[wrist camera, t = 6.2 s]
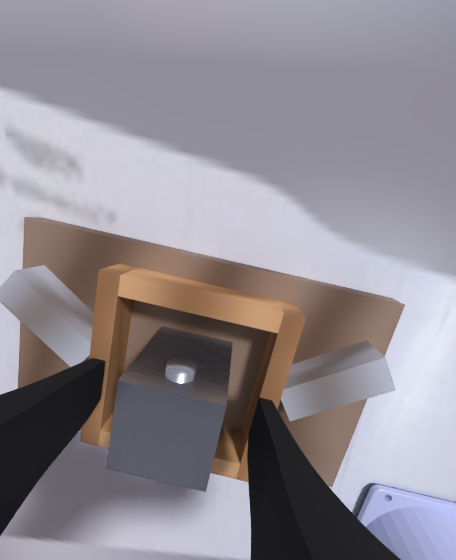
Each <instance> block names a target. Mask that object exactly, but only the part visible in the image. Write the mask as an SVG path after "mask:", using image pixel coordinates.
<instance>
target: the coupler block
mask: <svg viewBox="0 0 456 560" xmlns="http://www.w3.org/2000/svg"><path fill="white" fill-rule="evenodd" d="M232 345H233V342H230V341H226V340H221V339H217V338H213V337H208V336H204V335H199V334H195V333H190V332H186V331H182V330H177V329H173V328H168V327H164V326H161V328H160V329H159V330H158V331H157V333H156V334H155V335H154V336H153V337H152V339H151V340H150V341H149V342H148V344H147V345H146V346H145V347H144V349H143V350H142V351H141V352H140V354H139V355H138V356H137V357H136V358H135V360H134V361H133V362H132V363H131V365H130V366H129V367H128V368H127V370H126V371H125V372H124V373H123V375H122V376H121V377H120V378H119V380H118V382H117V389H116V397H115V405H114V413H113V420H112V428H111V436H110V444H109V451H108V459H107V467H106V469H110V470H115V471H119V472H123V473H128V474H132V475H136V476H140V477H145V478H149V479H153V480H157V481H162V482H166V483H170V484H174V485H179V486H183V487H187V488H191V489H196V490H200V491H204V492H206V488H207V484H208V480H209V475H210V471H211V467H212V463H213V459H214V455H215V451H216V447H217V443H218V439H219V435H220V431H221V427H222V423H223V418H224V414H225V410H226V406H227V397H228V387H229V376H230V366H231V356H232Z"/></svg>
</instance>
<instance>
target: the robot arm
mask: <svg viewBox="0 0 456 560" xmlns="http://www.w3.org/2000/svg"><path fill="white" fill-rule="evenodd" d="M105 362H106V361H104V360H100V359H96V358H91V359H88V360H86V361H84V362H81V363H79V364H77V365H74V366H72V367H70V368H68V369H65V370H63V371H61V372H58V373H56V374H54V375H51V376H49V377H47V378H44V379H42V380H39V381H36V382H34V383H31V384H29V385H26V386H24V387H21V388H18V389H16V390H13V391H10V392H7V393H4V394H1V395H0V536H1V534H2V533H3V531H4V530H5V528H6V527H7V525H8V524H9V522H10V521H11V519H12V518H13V516H14V515H15V513H16V512H17V510H18V509H19V507H20V506H21V504H22V503H23V502H24V500H25V499H26V497H27V496H28V494H29V493H30V492H31V490H32V489H33V487H34V486H35V484H36V483H37V482H38V480H39V479H40V478H41V476H42V475H43V474H44V472H45V471H46V470H47V469H48V467H49V466H50V465H51V464H52V463H53V461H54V460H55V459H56V458H57V457H58V455H59V454H60V453H61V452H62V450H63V449H64V448H65V447H66V446H67V444H68V443H69V442H70V441H71V440H72V438H73V437H74V436H75V435H76V433H77V432H78V431H79V430H80V428H81V427H82V426H83V425H84V424H85V422H86V421H87V420H88V418H89V417H90V415H91V414H92V412H93V411H94V409H95V407H96V406H97V404H98V403H99V401H100V399H101V394H102V386H103V378H104V370H105ZM247 463H248V481H249V497H250V513H251V560H456V503H453V502H449V501H445V500H441V499H437V498H432V497H428V496H424V495H420V494H416V493H412V492H407V491H403V490H399V489H395V488H391V487H387V486H382V485H373V486H372V487H371V488H370V490H369V492H368V494H367V497H366V499H365V501H364V503H363V506H362V508H361V510H360V512H359V515H358V517H357V518H356V517H355V516H354V515H353V514H352V512H351V511H350V510H349V509H348V508H347V507H346V506H345V505H344V504H343V503H342V501H341V500H340V499H339V498H338V497H337V496H336V495H335V494H334V493H333V491H332V490H331V489H330V488H329V487H328V485H327V484H326V483H325V482H324V480H323V479H322V478H321V477H320V475H319V474H318V473H317V471H316V470H315V469H314V468H313V466H312V465H311V463H310V462H309V461H308V459H307V458H306V456H305V455H304V453H303V452H302V450H301V449H300V447H299V446H298V444H297V443H296V441H295V439H294V438H293V436H292V435H291V433H290V431H289V430H288V428H287V426H286V424H285V423H284V421H283V419H282V417H281V415H280V414H279V412H278V410H277V408H276V406H275V404H274V403H273V401H272V400H269V399H264V398H260V397H259V399H258V402H257V406H256V409H255V413H254V416H253V420H252V423H251V427H250V430H249V434H248V452H247Z"/></svg>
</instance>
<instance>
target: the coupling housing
mask: <svg viewBox="0 0 456 560" xmlns="http://www.w3.org/2000/svg"><path fill="white" fill-rule="evenodd" d="M0 302H1V303H2V304H3V305H4V306H5V307H6V308H7V309H8V310H9V311H10V312H12V313H13V314H14V315H15V316H16V317H17V318H18V319H19V320H20V321H21V323H20V349H19V374H18V388H21V387H24V386H26V385H29V384H31V383H34V382H36V381H39V380H42V379H44V378H47V377H49V376H51V375H54V374H56V373H58V372H61V371H63V370H65V369H68V368H70V367H72V366H74V365H77V364H79V363H81V362H84V361H86V360H88V359H91V358H96V359H100V360H104V361H106V362H105V370H104V378H103V386H102V394H101V399H100V401H99V403H98V404H97V406H96V407H95V409H94V411H93V412H92V414H91V415H90V417H89V418H88V420H87V421H86V422H85V424H84V425H83V426H82V430H81V439H80V441H81V442H85V443H89V444H93V445H97V446H101V447H105V448H109V444H110V436H111V428H112V420H113V413H114V405H115V397H116V389H117V382H118V380H119V378H120V377H121V376H122V375H123V373H124V372H125V371H126V370H127V368H128V367H129V366H130V365H131V363H132V362H133V361H134V360H135V358H136V357H137V356H138V355H139V354H140V352H141V351H142V350H143V349H144V347H145V346H146V345H147V344H148V342H149V341H150V340H151V339H152V337H153V336H154V335H155V334H156V333H157V331H158V330H159V329H160V328H161V326H164V327H168V328H173V329H177V330H182V331H186V332H190V333H195V334H199V335H204V336H208V337H213V338H217V339H221V340H226V341H230V342H233V345H232V356H231V366H230V376H229V387H228V397H227V406H226V410H225V414H224V418H223V423H222V427H221V431H220V435H219V439H218V443H217V447H216V451H215V455H214V459H213V463H212V467H211V471H210V473H213V474H217V475H221V476H226V477H230V478H234V479H238V480H242V481H246V482H249V481H248V463H247V452H248V434H249V430H250V427H251V423H252V420H253V416H254V413H255V409H256V406H257V402H258V399H259V397H260V398H264V399H269V400H272V401H273V403H274V404H275V406H276V408H277V410H278V412H279V414H280V415H281V417H282V419H283V421H284V423H285V424H286V426H287V428H288V430H289V431H290V433H291V435H292V436H293V438H294V439H295V441H296V443H297V444H298V446H299V447H300V449H301V450H302V452H303V453H304V455H305V456H306V458H307V459H308V461H309V462H310V463H311V465H312V466H313V468H314V469H315V470H316V471H317V473H318V474H319V475H320V477H321V478H322V479H323V480H324V482H325V483H326V484H327V485H328V486H330V487H332V486H333V483H334V481H335V478H336V476H337V473H338V471H339V468H340V466H341V463H342V461H343V458H344V456H345V453H346V451H347V448H348V446H349V443H350V441H351V438H352V436H353V433H354V431H355V428H356V426H357V423H358V421H359V418H360V416H361V413H362V411H363V408H364V406H365V403H366V401H367V398H370V397H374V396H377V395H381V394H384V393H387V392H391V391H394V390H395V387H394V384H393V381H392V377H391V374H390V371H389V368H388V365H387V362H386V359H385V357H384V356H385V353H386V351H387V348H388V346H389V343H390V341H391V338H392V336H393V333H394V331H395V328H396V326H397V323H398V321H399V318H400V316H401V313H402V311H403V308H404V306H405V305H404V304H402V303H400V302H398V301H396V300H394V299H392V298H388V297H384V296H380V295H375V294H371V293H367V292H362V291H358V290H354V289H349V288H345V287H341V286H336V285H332V284H328V283H323V282H319V281H315V280H310V279H306V278H302V277H297V276H293V275H289V274H284V273H280V272H276V271H271V270H267V269H263V268H258V267H254V266H250V265H245V264H241V263H237V262H232V261H228V260H224V259H219V258H215V257H210V256H206V255H202V254H197V253H193V252H189V251H184V250H180V249H176V248H171V247H167V246H163V245H158V244H154V243H150V242H145V241H141V240H137V239H132V238H128V237H124V236H119V235H115V234H111V233H106V232H102V231H98V230H93V229H89V228H85V227H80V226H76V225H72V224H67V223H63V222H59V221H54V220H50V219H46V218H32V217H25V220H24V246H23V269H22V270H17V271H14V272H13V274H12V275H11V276H10V277H9V278H8V279H7V280H6V282H5V283H4V284H3V285H2V286H1V287H0Z"/></svg>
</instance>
